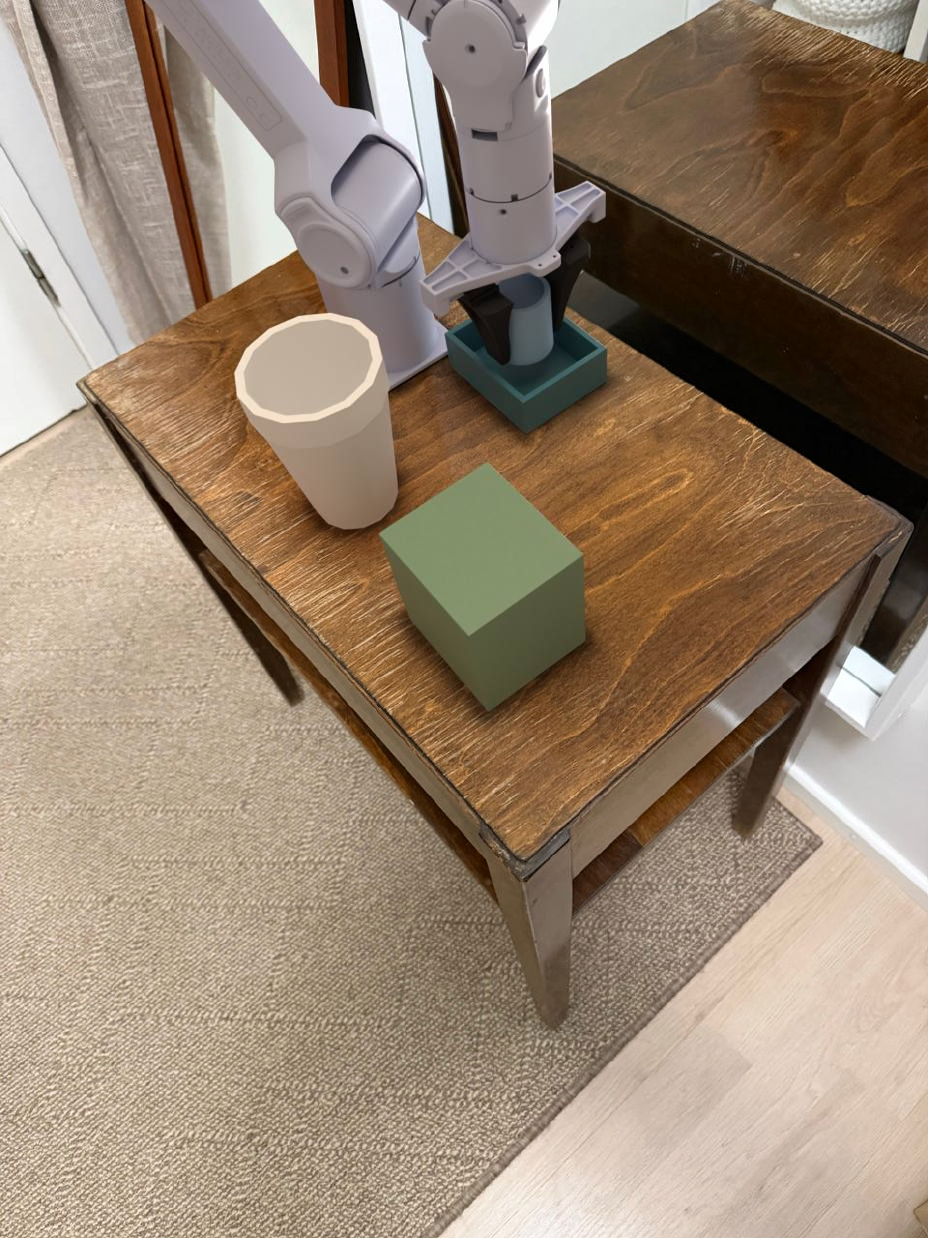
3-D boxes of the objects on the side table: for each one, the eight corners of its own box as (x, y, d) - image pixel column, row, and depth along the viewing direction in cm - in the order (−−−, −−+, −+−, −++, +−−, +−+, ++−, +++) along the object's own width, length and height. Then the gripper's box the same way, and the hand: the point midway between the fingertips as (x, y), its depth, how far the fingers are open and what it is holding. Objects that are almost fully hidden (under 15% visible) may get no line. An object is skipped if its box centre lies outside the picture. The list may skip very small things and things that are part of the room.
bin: (450, 366, 71) (443, 333, 68) (527, 317, 73) (524, 283, 70) (526, 434, 67) (522, 403, 64) (607, 381, 68) (607, 348, 65)
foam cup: (354, 429, 69) (307, 294, 58) (443, 479, 66) (412, 346, 54) (270, 510, 66) (204, 384, 55) (359, 568, 62) (307, 446, 51)
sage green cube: (409, 618, 60) (377, 533, 51) (502, 554, 61) (486, 461, 53) (488, 712, 56) (468, 636, 47) (586, 640, 57) (584, 554, 49)
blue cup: (484, 344, 68) (476, 290, 64) (529, 316, 69) (524, 261, 64) (519, 374, 66) (513, 321, 62) (565, 345, 67) (562, 290, 62)
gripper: (452, 259, 52) (478, 418, 64) (638, 148, 55) (631, 320, 67) (387, 206, 55) (423, 367, 67) (566, 104, 58) (571, 275, 70)
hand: (523, 340), depth 67 cm, fingers closed on blue cup, 4 cm apart
